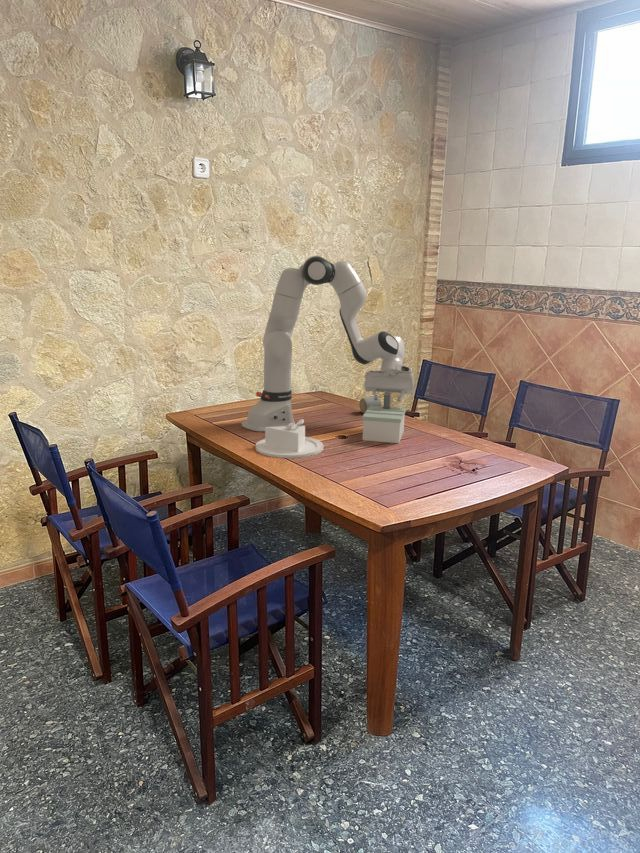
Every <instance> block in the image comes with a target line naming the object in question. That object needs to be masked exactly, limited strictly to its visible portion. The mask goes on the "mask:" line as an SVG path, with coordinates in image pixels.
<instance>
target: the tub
mask: <svg viewBox="0 0 640 853" xmlns="http://www.w3.org/2000/svg"><path fill="white" fill-rule="evenodd" d="M405 414H406V413H405ZM405 414H404V417H403V419H402V421H401V423H392V422H379V421H365V420H362V441H367V442H378V443H379V442H380V443H390V444H391V443H392V444H400V442H401V439H402V436H403V434H404V431H405Z"/></svg>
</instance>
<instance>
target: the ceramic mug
mask: <svg viewBox="0 0 640 853" xmlns="http://www.w3.org/2000/svg"><path fill="white" fill-rule="evenodd" d="M369 406H383V405H382V400H381V397H379V395H378V400H374V395H373V396H366V397H365V396H364V397H362V398H361V399H360V400H359V409H360V412H361V413H362V414H364V413H365V411H367V408H369Z"/></svg>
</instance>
